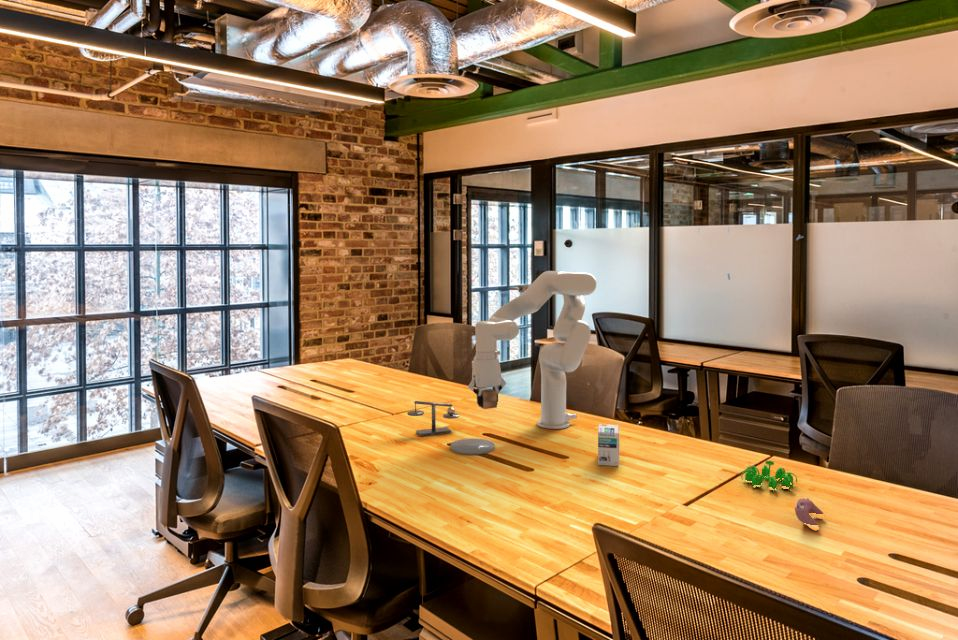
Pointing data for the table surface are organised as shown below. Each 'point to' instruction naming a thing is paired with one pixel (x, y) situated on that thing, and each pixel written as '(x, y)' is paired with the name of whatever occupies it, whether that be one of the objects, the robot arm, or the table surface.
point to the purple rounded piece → (806, 511)
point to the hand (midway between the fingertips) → (487, 404)
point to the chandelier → (768, 476)
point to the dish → (472, 446)
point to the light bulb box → (608, 445)
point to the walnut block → (489, 398)
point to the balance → (434, 418)
